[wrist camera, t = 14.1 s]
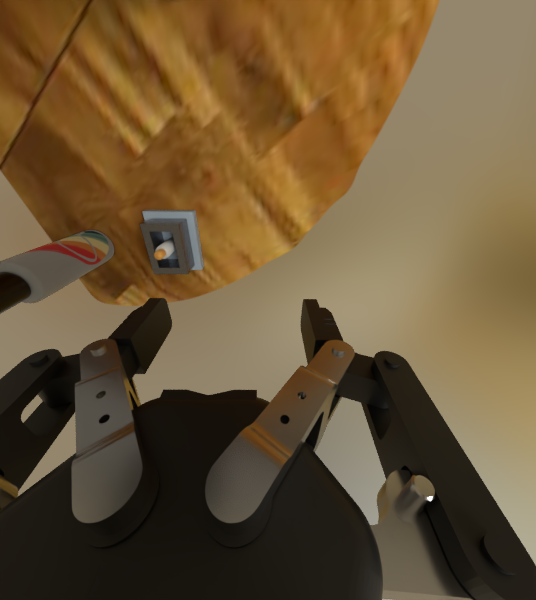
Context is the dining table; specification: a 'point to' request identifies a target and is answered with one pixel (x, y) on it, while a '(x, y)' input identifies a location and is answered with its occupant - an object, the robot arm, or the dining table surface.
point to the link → (155, 238)
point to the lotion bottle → (51, 267)
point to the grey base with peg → (168, 246)
